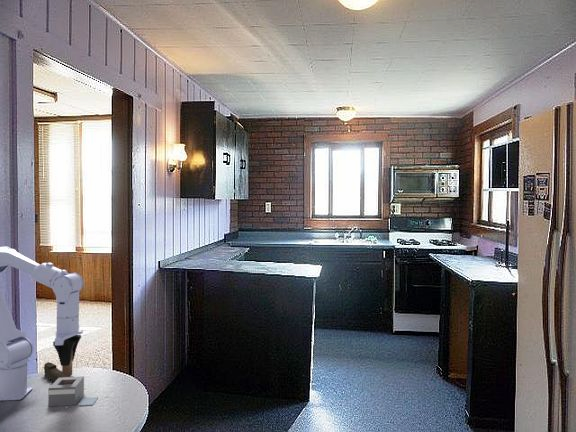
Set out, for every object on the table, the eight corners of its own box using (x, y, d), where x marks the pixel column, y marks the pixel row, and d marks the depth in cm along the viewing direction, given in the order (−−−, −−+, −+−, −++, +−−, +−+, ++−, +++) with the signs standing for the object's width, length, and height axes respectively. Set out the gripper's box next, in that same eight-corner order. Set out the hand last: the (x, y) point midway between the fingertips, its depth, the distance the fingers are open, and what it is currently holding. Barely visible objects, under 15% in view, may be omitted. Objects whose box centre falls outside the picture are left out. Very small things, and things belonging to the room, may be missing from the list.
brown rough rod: (76, 388, 135) (77, 373, 135) (63, 392, 132) (63, 376, 132) (54, 373, 148) (54, 359, 148) (41, 376, 145) (41, 362, 145)
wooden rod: (60, 377, 125) (61, 345, 125) (63, 373, 127) (64, 342, 127) (70, 376, 125) (71, 345, 125) (73, 373, 128) (74, 342, 128)
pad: (77, 406, 122) (77, 405, 122) (83, 398, 127) (83, 397, 127) (92, 405, 123) (92, 404, 123) (97, 398, 128) (97, 397, 128)
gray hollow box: (48, 406, 122) (48, 388, 122) (58, 394, 130) (58, 377, 130) (74, 405, 123) (75, 387, 123) (83, 393, 131) (84, 376, 131)
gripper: (74, 321, 120) (73, 371, 120) (89, 310, 134) (89, 354, 134) (46, 322, 119) (46, 372, 119) (65, 310, 133) (64, 355, 133)
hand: (67, 363), depth 126 cm, fingers closed on wooden rod, 3 cm apart
